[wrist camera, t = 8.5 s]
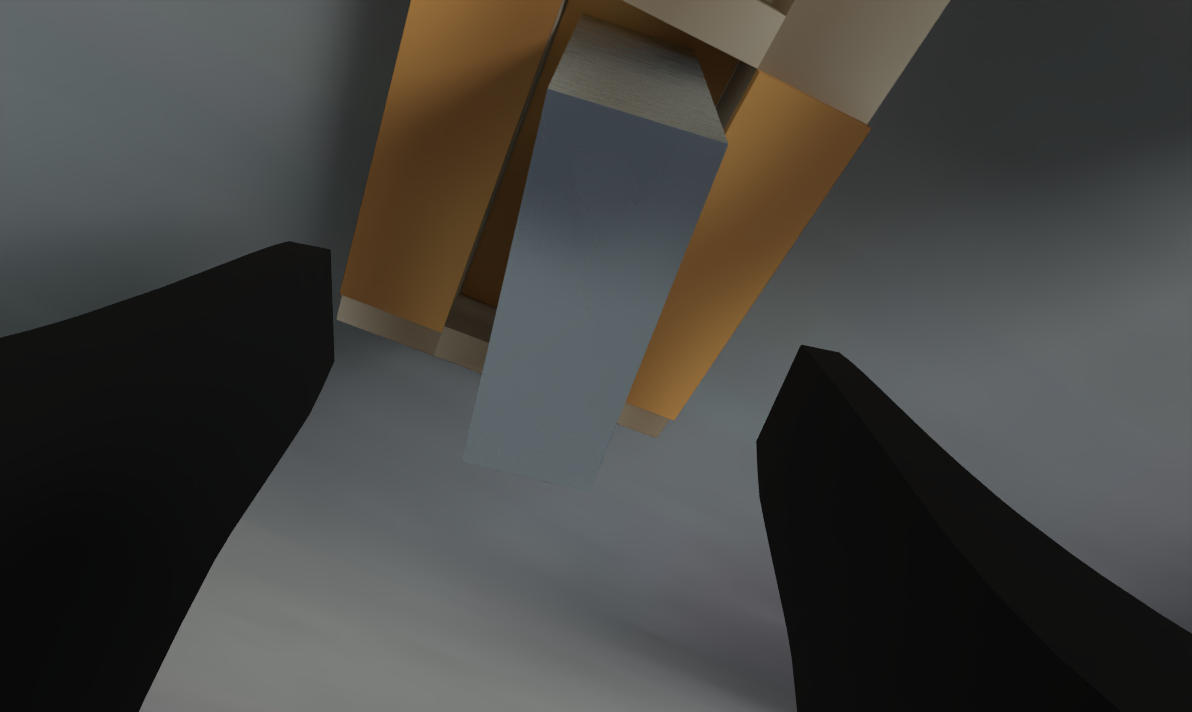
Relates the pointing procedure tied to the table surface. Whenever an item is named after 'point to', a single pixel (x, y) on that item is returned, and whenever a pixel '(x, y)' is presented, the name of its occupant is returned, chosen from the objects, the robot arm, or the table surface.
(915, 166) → the table surface
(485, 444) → the brushed gray metal block
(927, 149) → the table surface
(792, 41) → the rack
